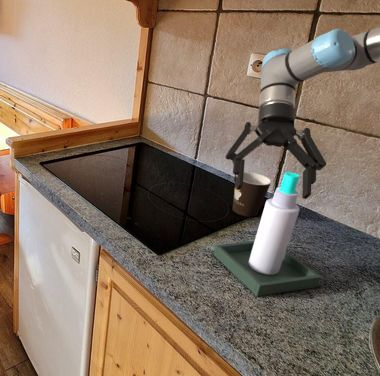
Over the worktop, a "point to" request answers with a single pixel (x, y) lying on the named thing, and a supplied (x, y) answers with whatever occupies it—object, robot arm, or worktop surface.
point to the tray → (260, 283)
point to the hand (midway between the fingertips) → (272, 192)
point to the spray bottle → (275, 227)
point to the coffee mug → (250, 194)
